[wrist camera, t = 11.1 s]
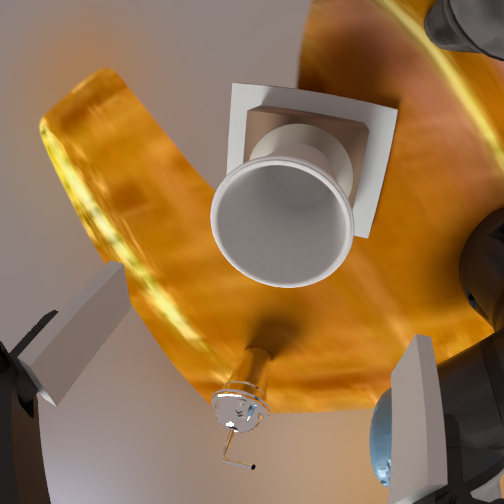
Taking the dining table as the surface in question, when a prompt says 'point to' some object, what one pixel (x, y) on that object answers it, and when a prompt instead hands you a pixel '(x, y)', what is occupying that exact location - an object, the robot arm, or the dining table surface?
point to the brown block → (310, 140)
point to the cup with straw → (244, 398)
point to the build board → (371, 114)
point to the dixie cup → (283, 218)
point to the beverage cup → (467, 26)
